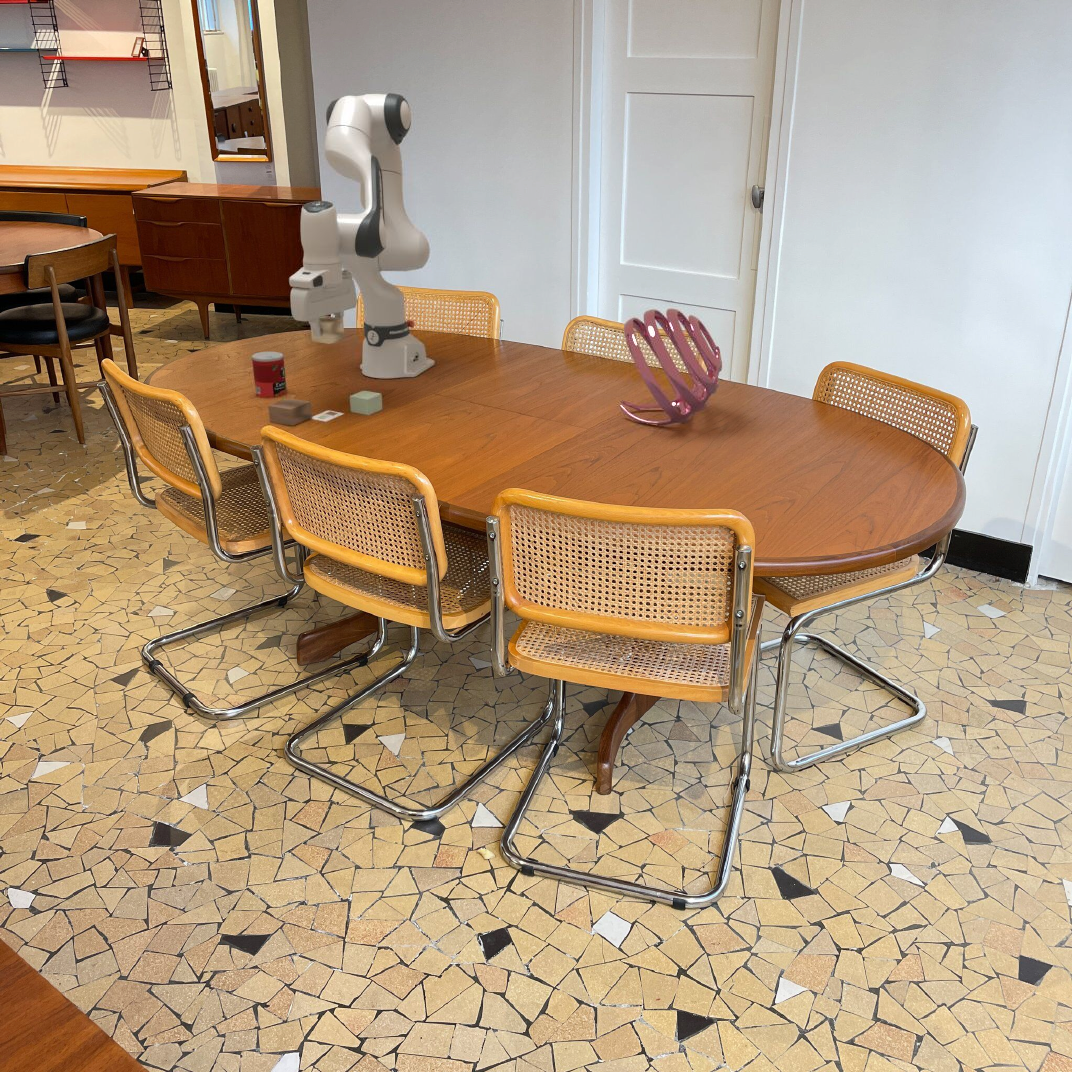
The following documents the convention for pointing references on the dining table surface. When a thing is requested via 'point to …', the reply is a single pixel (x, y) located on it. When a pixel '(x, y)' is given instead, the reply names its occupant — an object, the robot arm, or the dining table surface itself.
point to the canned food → (269, 374)
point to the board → (326, 416)
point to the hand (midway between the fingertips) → (327, 333)
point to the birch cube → (330, 330)
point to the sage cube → (366, 402)
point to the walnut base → (290, 411)
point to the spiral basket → (683, 393)
